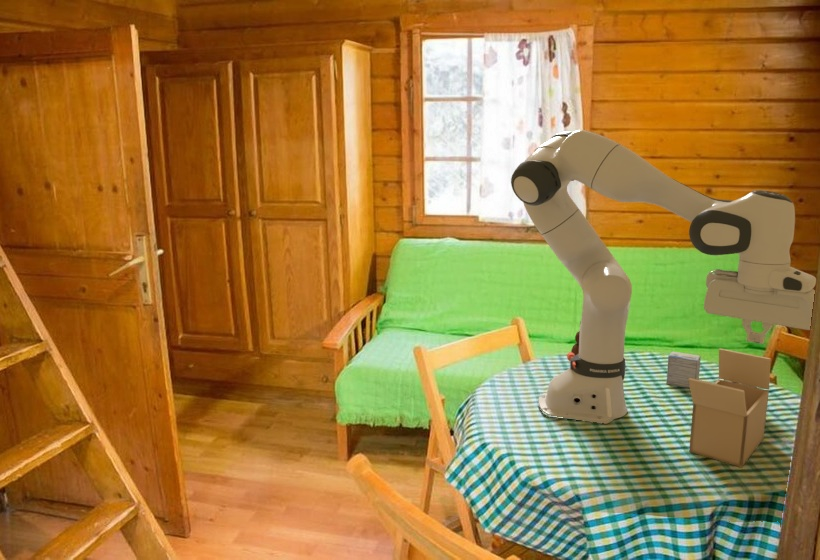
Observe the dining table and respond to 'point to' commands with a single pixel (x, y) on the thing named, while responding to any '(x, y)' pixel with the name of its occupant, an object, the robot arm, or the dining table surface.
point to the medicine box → (682, 368)
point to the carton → (730, 428)
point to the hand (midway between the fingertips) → (755, 341)
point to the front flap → (718, 397)
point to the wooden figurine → (576, 347)
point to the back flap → (744, 368)
